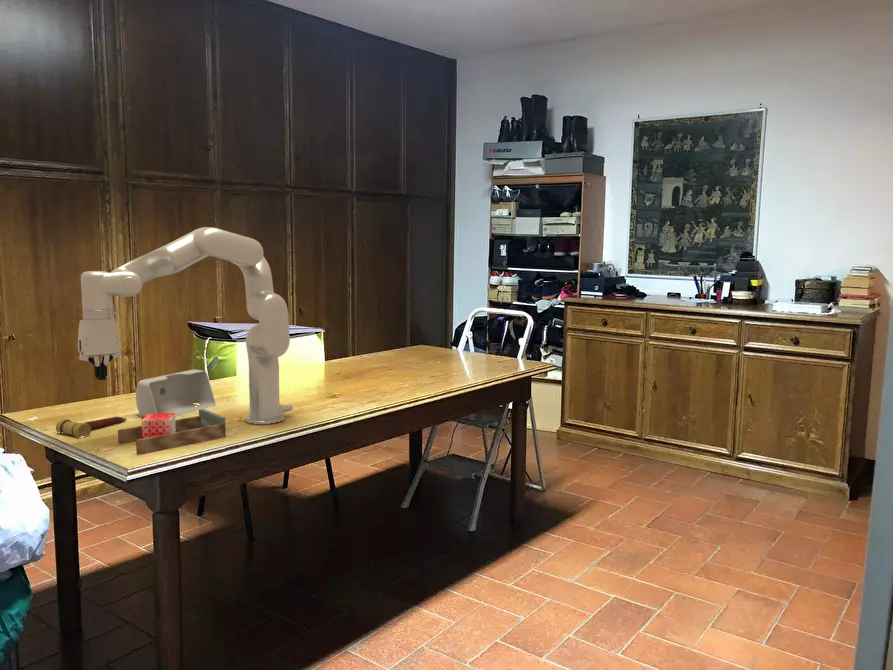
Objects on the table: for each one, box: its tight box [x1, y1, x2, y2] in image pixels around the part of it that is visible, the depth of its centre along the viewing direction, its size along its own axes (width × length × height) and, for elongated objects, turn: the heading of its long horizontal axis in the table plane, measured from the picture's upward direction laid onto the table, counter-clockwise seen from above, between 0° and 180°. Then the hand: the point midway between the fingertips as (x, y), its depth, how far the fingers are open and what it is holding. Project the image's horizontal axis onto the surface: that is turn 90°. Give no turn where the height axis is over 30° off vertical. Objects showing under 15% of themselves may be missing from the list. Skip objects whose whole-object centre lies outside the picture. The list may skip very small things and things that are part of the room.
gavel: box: [55, 416, 128, 438], centre depth 224 cm, size 21×5×10 cm
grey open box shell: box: [135, 369, 216, 418], centre depth 247 cm, size 25×16×12 cm, turn 152°
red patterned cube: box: [141, 413, 176, 438], centre depth 209 cm, size 8×8×8 cm
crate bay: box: [117, 409, 227, 455], centre depth 212 cm, size 26×14×6 cm, turn 135°
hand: (101, 379), depth 205 cm, fingers closed
